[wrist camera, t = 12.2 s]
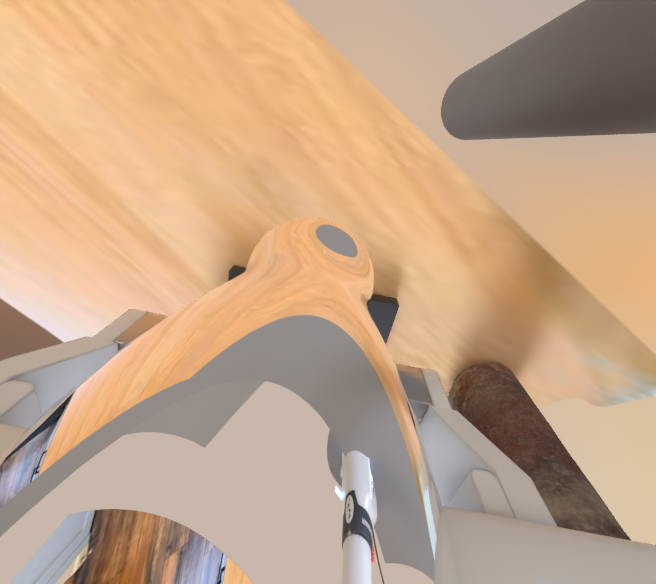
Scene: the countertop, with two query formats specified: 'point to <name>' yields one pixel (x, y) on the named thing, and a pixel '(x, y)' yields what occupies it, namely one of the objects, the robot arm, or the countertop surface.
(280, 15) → the countertop surface
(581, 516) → the candle
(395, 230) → the countertop surface
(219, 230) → the countertop surface
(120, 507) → the beer glass
